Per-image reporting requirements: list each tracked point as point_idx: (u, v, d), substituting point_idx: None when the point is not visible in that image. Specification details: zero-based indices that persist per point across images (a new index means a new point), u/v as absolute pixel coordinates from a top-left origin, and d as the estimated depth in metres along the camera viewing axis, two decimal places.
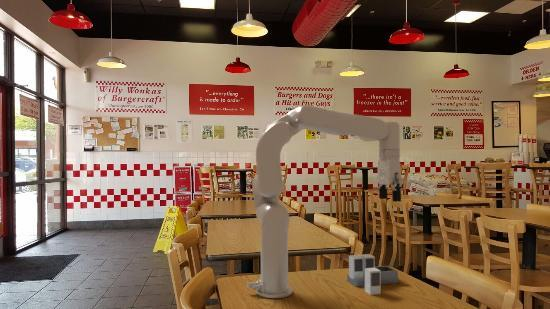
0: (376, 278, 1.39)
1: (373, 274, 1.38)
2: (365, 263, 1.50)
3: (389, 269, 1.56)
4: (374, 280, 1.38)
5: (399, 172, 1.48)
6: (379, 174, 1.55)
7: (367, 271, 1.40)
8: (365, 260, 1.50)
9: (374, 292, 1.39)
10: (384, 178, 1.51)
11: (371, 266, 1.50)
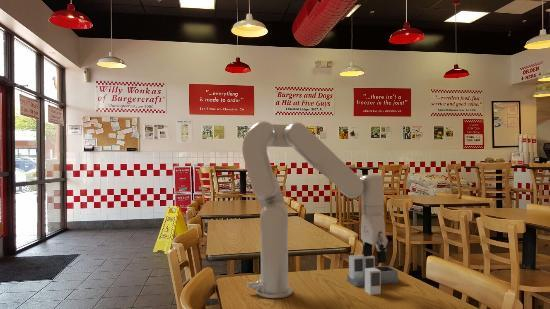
0: (376, 278, 1.39)
1: (373, 274, 1.38)
2: (365, 263, 1.50)
3: (389, 269, 1.56)
4: (374, 280, 1.38)
5: (383, 231, 1.36)
6: (362, 231, 1.43)
7: (367, 271, 1.40)
8: (365, 260, 1.50)
9: (374, 292, 1.39)
10: (367, 237, 1.39)
11: (371, 266, 1.50)
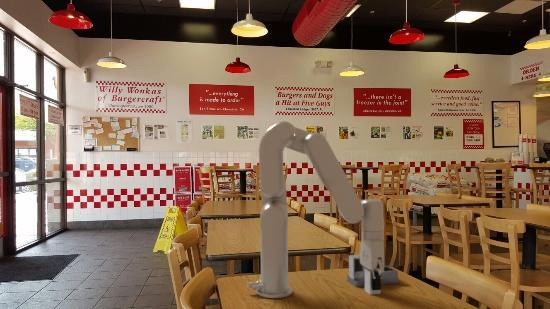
0: None
1: None
2: None
3: (389, 269, 1.56)
4: None
5: (382, 257, 1.36)
6: (361, 255, 1.43)
7: (367, 271, 1.40)
8: None
9: (374, 292, 1.39)
10: (366, 261, 1.39)
11: None
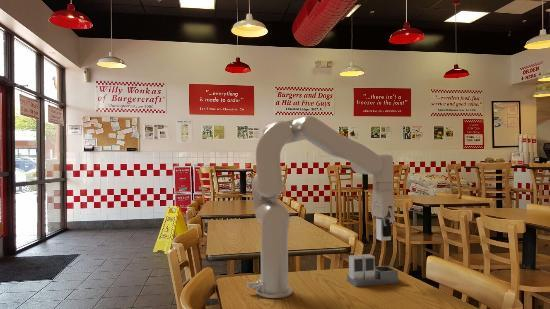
0: None
1: None
2: (365, 263, 1.50)
3: (389, 269, 1.56)
4: None
5: (392, 205, 1.49)
6: (373, 206, 1.56)
7: (378, 220, 1.53)
8: (365, 260, 1.50)
9: (385, 238, 1.52)
10: (378, 211, 1.52)
11: (371, 266, 1.50)
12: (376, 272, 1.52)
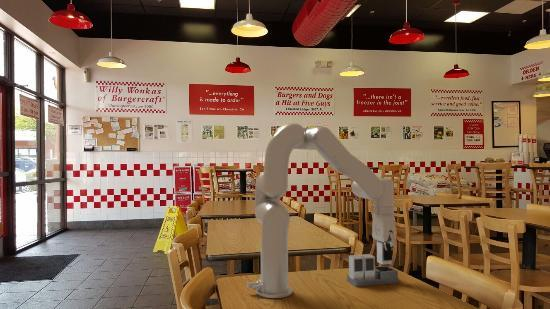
0: None
1: None
2: (365, 263, 1.50)
3: (389, 269, 1.56)
4: None
5: (393, 230, 1.50)
6: (374, 229, 1.56)
7: (379, 243, 1.54)
8: (365, 260, 1.50)
9: (386, 262, 1.52)
10: (379, 235, 1.52)
11: (371, 266, 1.50)
12: (376, 272, 1.52)
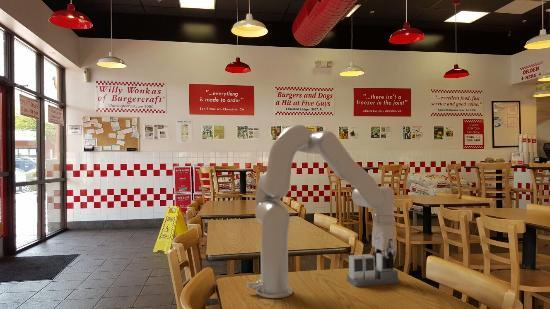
0: None
1: (384, 258, 1.52)
2: (365, 263, 1.50)
3: None
4: None
5: (393, 238, 1.50)
6: (373, 238, 1.56)
7: (379, 255, 1.54)
8: (365, 260, 1.50)
9: None
10: (378, 243, 1.52)
11: (371, 266, 1.50)
12: (376, 272, 1.52)
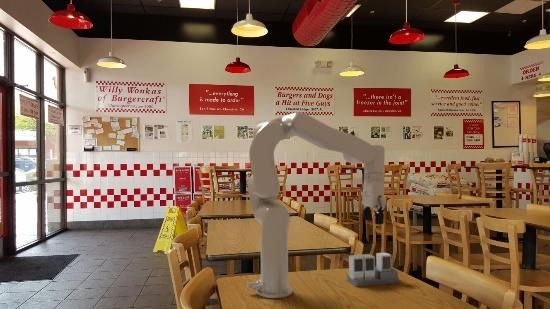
0: (387, 262, 1.52)
1: (384, 258, 1.52)
2: (365, 263, 1.50)
3: None
4: (385, 263, 1.52)
5: (382, 195, 1.50)
6: (363, 196, 1.57)
7: (379, 255, 1.54)
8: (365, 260, 1.50)
9: None
10: (368, 200, 1.53)
11: (371, 266, 1.50)
12: (376, 272, 1.52)
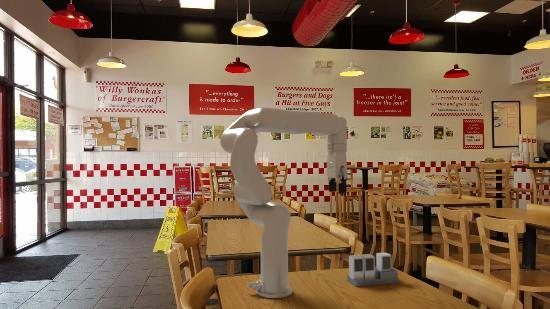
0: (387, 262, 1.52)
1: (384, 258, 1.52)
2: (365, 263, 1.50)
3: None
4: (385, 263, 1.52)
5: (345, 165, 1.54)
6: (328, 168, 1.60)
7: (379, 255, 1.54)
8: (365, 260, 1.50)
9: None
10: (331, 171, 1.56)
11: (371, 266, 1.50)
12: (376, 272, 1.52)
